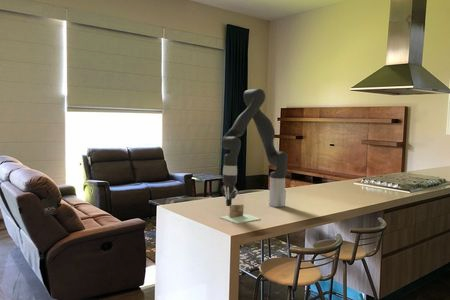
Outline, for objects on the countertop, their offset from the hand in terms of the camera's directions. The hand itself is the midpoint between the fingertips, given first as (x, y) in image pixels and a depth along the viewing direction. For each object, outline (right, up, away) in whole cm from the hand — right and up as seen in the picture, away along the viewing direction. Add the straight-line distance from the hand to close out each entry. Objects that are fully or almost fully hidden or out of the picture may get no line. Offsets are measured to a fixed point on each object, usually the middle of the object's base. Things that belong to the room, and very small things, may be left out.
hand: (228, 205), depth 205 cm
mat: (+6, -6, -7) cm, 11 cm away
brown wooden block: (+4, -5, -5) cm, 8 cm away
